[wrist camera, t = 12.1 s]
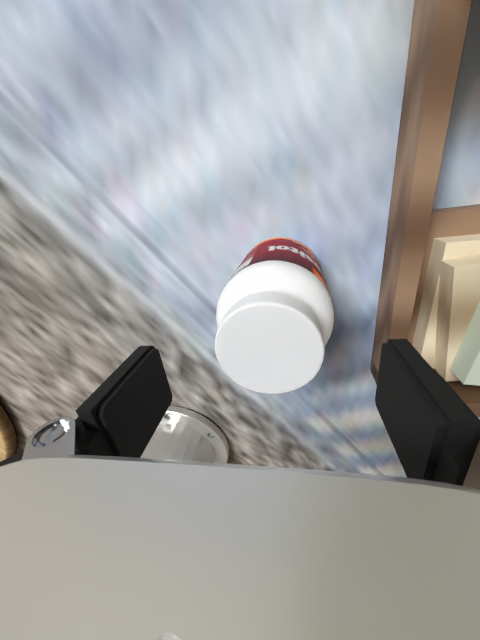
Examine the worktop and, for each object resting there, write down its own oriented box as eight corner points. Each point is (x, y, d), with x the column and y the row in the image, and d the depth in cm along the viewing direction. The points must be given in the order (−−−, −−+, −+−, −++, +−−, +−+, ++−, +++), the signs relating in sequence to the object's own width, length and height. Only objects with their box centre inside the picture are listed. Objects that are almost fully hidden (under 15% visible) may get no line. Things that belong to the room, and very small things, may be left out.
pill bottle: (337, 267, 19) (383, 349, 10) (285, 323, 22) (281, 427, 13) (272, 217, 18) (250, 251, 9) (227, 281, 21) (174, 359, 12)
